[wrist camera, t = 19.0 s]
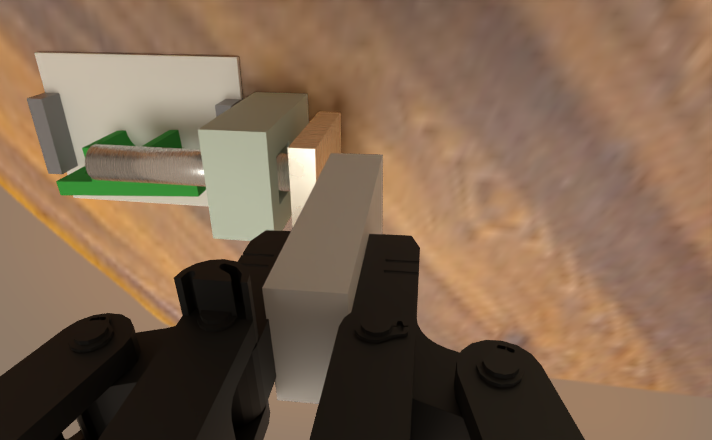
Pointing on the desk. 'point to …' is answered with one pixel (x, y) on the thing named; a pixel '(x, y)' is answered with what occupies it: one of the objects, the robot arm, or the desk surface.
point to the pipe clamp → (86, 185)
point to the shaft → (187, 166)
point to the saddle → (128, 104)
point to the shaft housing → (250, 163)
